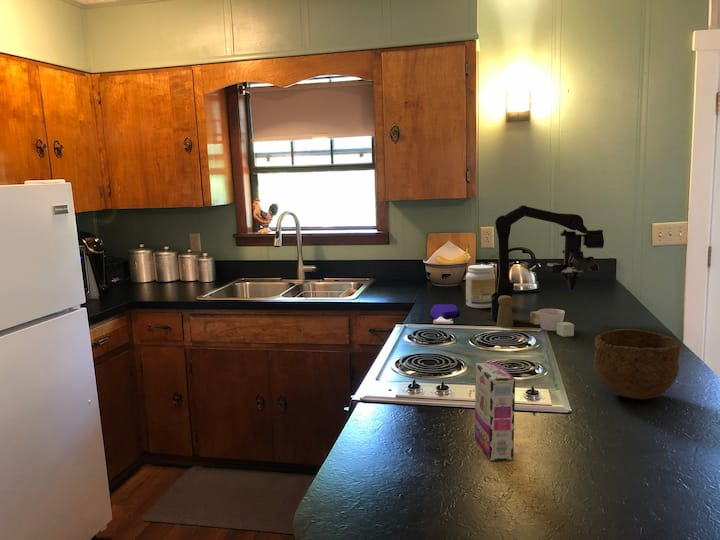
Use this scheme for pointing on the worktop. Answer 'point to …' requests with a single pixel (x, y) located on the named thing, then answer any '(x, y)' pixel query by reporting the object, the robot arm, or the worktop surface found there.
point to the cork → (505, 311)
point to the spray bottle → (443, 313)
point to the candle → (550, 318)
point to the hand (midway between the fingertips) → (571, 289)
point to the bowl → (636, 362)
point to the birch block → (534, 317)
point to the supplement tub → (480, 286)
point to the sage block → (565, 329)
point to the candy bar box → (494, 411)
